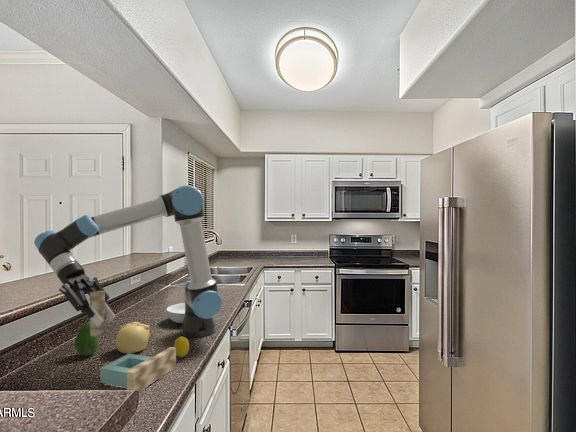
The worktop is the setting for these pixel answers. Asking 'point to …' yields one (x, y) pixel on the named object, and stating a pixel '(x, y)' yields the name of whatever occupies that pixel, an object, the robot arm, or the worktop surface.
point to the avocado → (86, 341)
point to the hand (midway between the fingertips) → (106, 321)
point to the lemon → (181, 346)
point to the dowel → (99, 304)
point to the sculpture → (132, 337)
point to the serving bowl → (176, 312)
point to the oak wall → (151, 369)
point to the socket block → (120, 369)
